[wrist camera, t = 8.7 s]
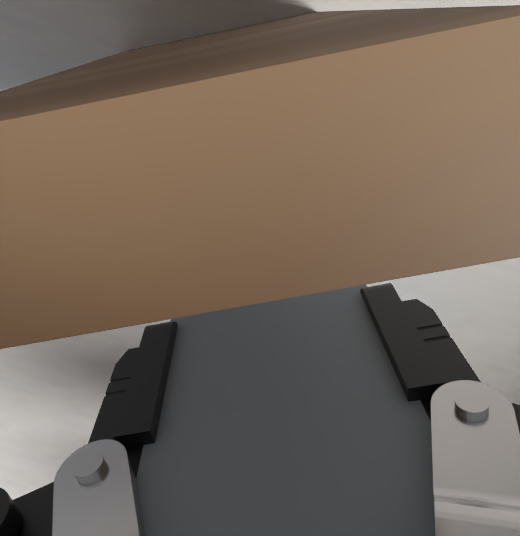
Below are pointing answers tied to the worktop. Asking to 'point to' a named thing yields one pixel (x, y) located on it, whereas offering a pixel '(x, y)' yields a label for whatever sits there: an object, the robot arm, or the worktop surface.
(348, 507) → the domino
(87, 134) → the domino
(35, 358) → the worktop surface
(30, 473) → the worktop surface
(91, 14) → the worktop surface
